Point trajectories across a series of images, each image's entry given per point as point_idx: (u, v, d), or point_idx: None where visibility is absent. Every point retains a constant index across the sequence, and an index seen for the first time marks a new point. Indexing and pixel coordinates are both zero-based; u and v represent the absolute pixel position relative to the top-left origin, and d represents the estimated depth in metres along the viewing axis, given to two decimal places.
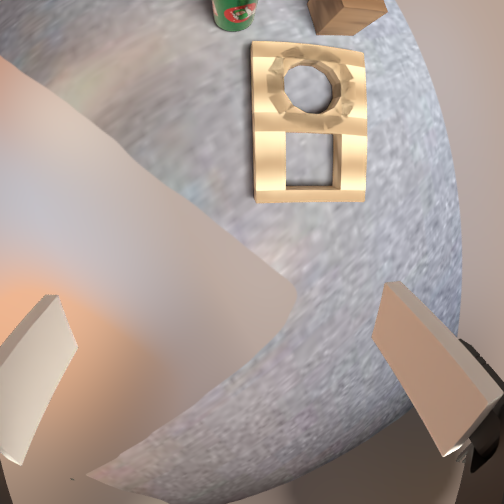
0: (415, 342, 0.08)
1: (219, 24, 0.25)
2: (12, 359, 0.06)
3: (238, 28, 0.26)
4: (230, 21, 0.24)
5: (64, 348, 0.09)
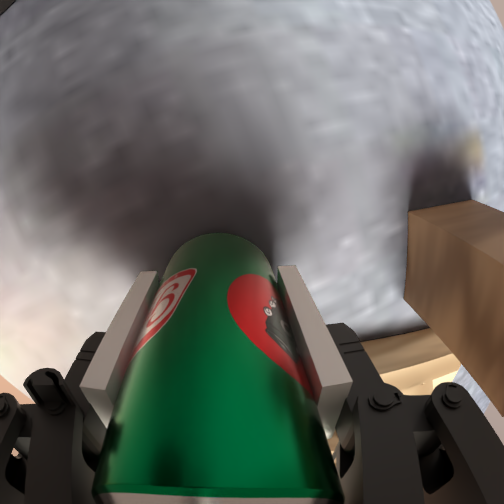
0: None
1: None
2: (133, 330, 0.08)
3: None
4: None
5: None
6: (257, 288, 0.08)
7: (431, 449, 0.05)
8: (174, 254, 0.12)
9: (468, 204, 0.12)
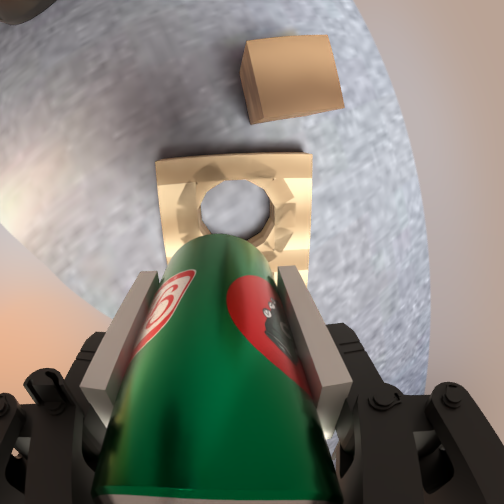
0: (289, 321, 0.09)
1: None
2: (133, 330, 0.08)
3: None
4: None
5: None
6: (256, 289, 0.08)
7: (431, 449, 0.05)
8: (173, 255, 0.12)
9: None
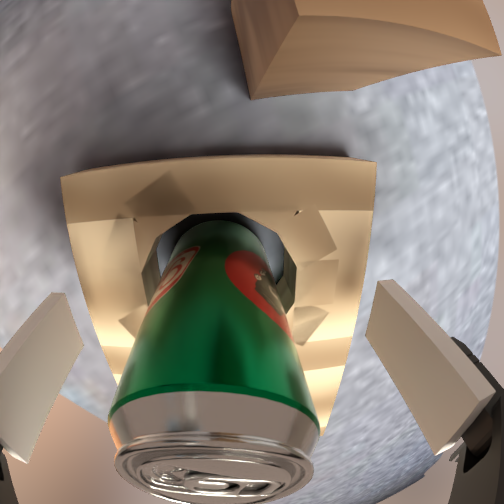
0: (407, 340, 0.08)
1: None
2: (19, 356, 0.06)
3: None
4: None
5: (70, 346, 0.09)
6: (250, 260, 0.10)
7: None
8: (180, 239, 0.14)
9: None
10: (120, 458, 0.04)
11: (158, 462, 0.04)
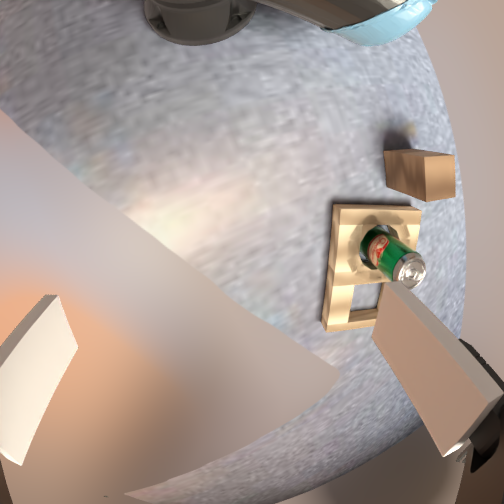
0: (415, 342, 0.08)
1: None
2: (12, 359, 0.06)
3: None
4: None
5: (64, 348, 0.09)
6: (395, 237, 0.36)
7: None
8: None
9: (408, 149, 0.35)
10: (404, 266, 0.29)
11: (409, 264, 0.29)
